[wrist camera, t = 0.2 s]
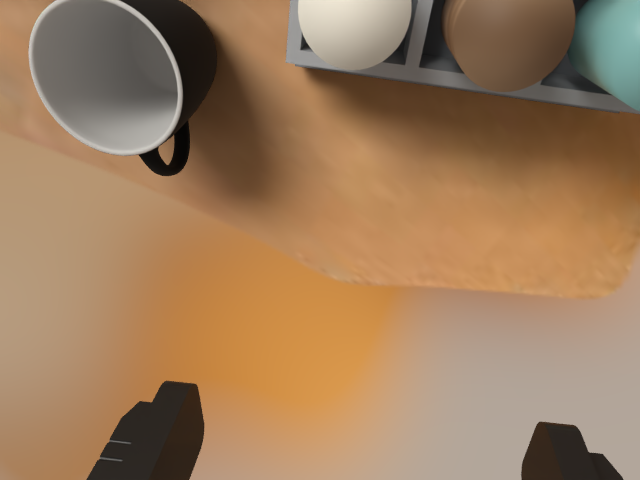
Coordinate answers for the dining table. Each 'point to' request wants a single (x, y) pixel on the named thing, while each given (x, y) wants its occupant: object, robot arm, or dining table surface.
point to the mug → (124, 74)
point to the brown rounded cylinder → (507, 39)
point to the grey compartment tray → (454, 64)
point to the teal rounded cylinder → (609, 47)
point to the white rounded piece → (354, 30)
